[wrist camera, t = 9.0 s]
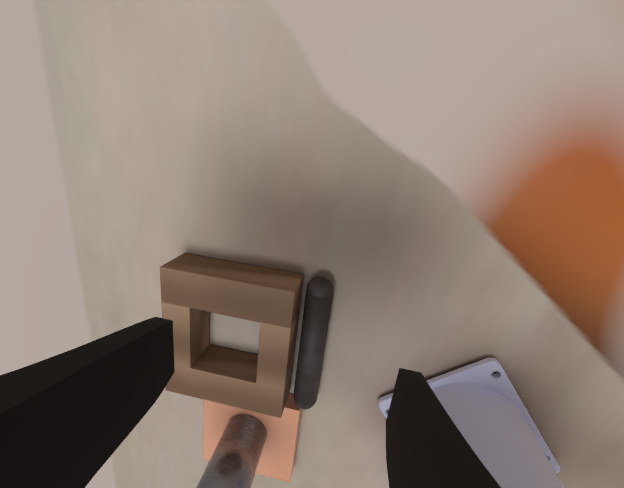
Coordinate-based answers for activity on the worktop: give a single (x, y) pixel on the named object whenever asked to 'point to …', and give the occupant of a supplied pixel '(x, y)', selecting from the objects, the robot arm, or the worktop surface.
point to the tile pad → (278, 441)
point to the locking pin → (236, 454)
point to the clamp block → (252, 306)
